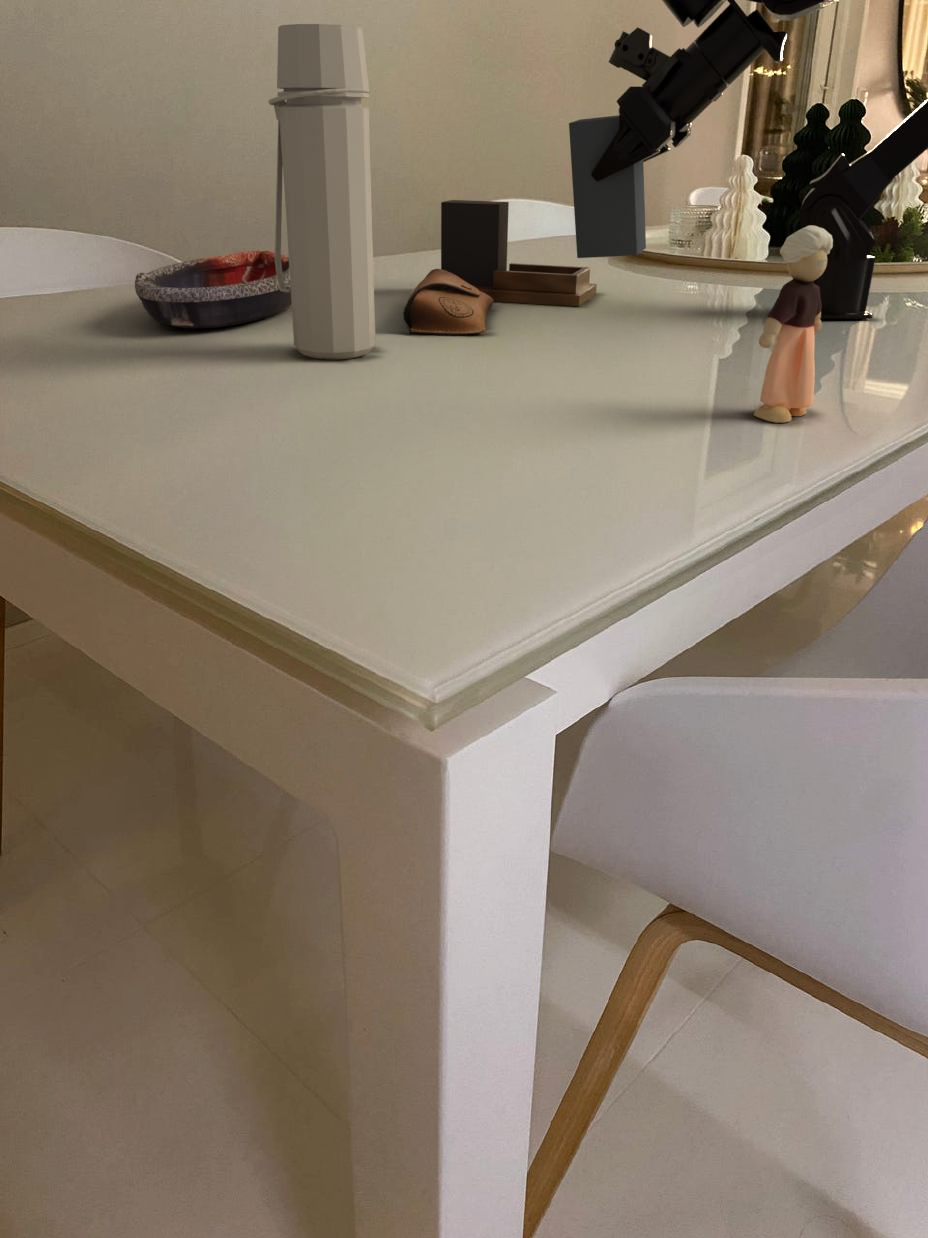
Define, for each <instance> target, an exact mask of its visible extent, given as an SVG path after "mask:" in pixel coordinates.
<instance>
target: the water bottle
mask: <svg viewBox="0 0 928 1238" xmlns="http://www.w3.org/2000/svg"><path fill="white" fill-rule="evenodd" d="M367 67H368V66H367V56H366V49H365V38H364V31H363V28H362V27H359V26H355V25H346V24H345V25H344V24H328V23H294V24H293V23H291V24H282V25H279V26H278V27H277V68H276V69H277V72H276V74H277V75H276V77H277V78H276V89H280V90H283V91H278V92H277V96H275V97H273V98H270V99H268V101H267V102H268V104H269V105H270V106H273V109H274V114H275V119H276V120H277V147H276V149H277V151H276V187H275V188H276V191H275V194H276V195H275V199H276V200H275V227H274V228H275V229H274V230H275V231H274V253H275V266H276V274H277V280H278V284H279V288H280V291H282V292H291V302H292V305H291V315H292V317H291V318H292V333H293V345H294V347H295V348H296V349H297V351H298V352H299V353H301V354H302V355H303V356H305V357H307V358H312V359H317V360H330V361H331V360H333V361H334V360H335V361H336V360H352V359H355V358H361V357H364V356H365V355H368V353H370V352H371V351H372V350H373V349H374V347H375V346H376V324H375V323H376V319H375V318H376V317H375V316H376V315H375V314H376V313H375V284H374V283H375V282H374V280H375V279H374V276H375V275H374V245H373V244H374V243H373V208H372V207H373V206H372V172H371V170H372V169H371V135H370V131H371V130H370V108H369V107H367V106H364V105H363V104H362V99H369V98H370V93H371V92H370V83H369V75H368V68H367ZM283 188H284V189H283ZM283 190H284V203H285V204H284V205H285V220H286V222H285V223H286V235H287V238H286V239H287V250H288V251H287V253H288V257H289V270H290V287H289V289H286V286H285V283H284V279H283V273H282V265H281V254H282V222H283V221H282V219H283V217H282V215H283V213H282V212H283V211H282V210H283Z"/></svg>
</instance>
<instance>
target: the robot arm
mask: <svg viewBox="0 0 928 1238" xmlns="http://www.w3.org/2000/svg"><path fill="white" fill-rule="evenodd" d="M661 1H662V2H663V4H664V5H665V6H666V7H667V9H668V10H669V12H670V13H671V14H672V15H673V16H674V18H675V19H676V20H677V21H678V23H679V24H680V26H681V27H682V28H685V27H687V26H688V25H690V24H691V23H692V22H693V23H694V25H695V27H696V28H697V29H698V28H700V27H702V26H703V25H704V24H706V22H708V21H709V20H710V19H711V18H712V17H713V16H714V15H715V14H716V13H717V12H718V10H719V9H720V8H721V7H722V6H723V5H724V4H725V3H726V2H728V3H729V4H728V5H727V6H726V7H725V8H724V9H723V10H722V11H721V13H720V14H718V16H717V17H716V18H715V19H714V20H713V21H711V23H710V24H708V26H707V27H706V28H705V29H704V30H703V31H702V32H701V33H700V34H699V35H698V36H697V37H696V38H695V39H694V40H693V41H692V42H691V43H690V44H689V45H688V46H687V47H686V48H684V47H683V48H677V49H676V50H675V51H674V52H673V54H671V55H668V54H667V53H664V52H662V51H661V50H659V49H657V48H655V47H654V46H653V35H652V34H651V33H649V32H648V31H646V30H644V29H642V28H641V27H639V26H638V27H636V28H635V29H634V30H632V31H631V32H630V33H628V32H626V31H624V30H622V32H621V34H620V37H619V38H618V39H616V40H615V42H614V49H613V51H612V53H611V55H610V58H609V59H608V63H609V64H611V65H612V66H614V67H615V68H617V69H623V70H624V71H627V72H629V73H631V74H632V75H634V76H636V77H638V78H640V79H642V80H643V81H644V82H643V84H641V86H629V87H628V88H627V89H626V90H625V91H624V92H623V93H622V94H621V96H620V97H619V98H618V99H616V103H617V105H618V106H619V107H618V115H619V130H618V132H617V133H616V135H615V137H614V138H613V140H612V142H611V143H610V145H609V146H608V148H607V149H606V151H605V153H604V154H603V156H602V157H601V159H600V160H599V162H598V163H597V165H596V167H595V168H594V170H593V171H592V173H591V175H592V177H593V178H594V179H595V180H596V181H600V180H602V179H604V178H606V177H609V176H611V175H613V174H615V173H617V172H619V171H621V170H623V169H625V168H628V167H630V166H632V165H634V164H636V163H638V162H640V161H642V160H643V163H645V162H648V161H650V160H652V159H655V158H657V157H659V156H661V155H663V154H666V153H669V152H670V151H671V148H670V146H668V143H669V142H670V141H672V142H671V144H672V146H673V147H674V148H679V147H680V146H681V145H682V144H683V143H684V142H685V141H686V140H687V139H688V138H689V137H690V136H691V133H692V125H693V124H692V123H693V122H694V121H695V120H696V119H697V118H698V117H699V116H700V115H701V114H702V113H703V112H704V111H705V110H706V109H707V108H708V107H710V105H711V104H712V103H715V102H717V101H718V100H719V99H720V98H721V97H722V96H723V94H724V93H723V92H724V91H726V90H727V88H729V86H730V85H731V84H733V83H734V81H735V80H736V79H737V78H739V77H740V76H741V75H742V74H743V73H744V72H745V71H746V70H747V69H748V68H749V67H750V66H751V65H752V64H753V63H754V62H755V61H756V60H757V59H758V58H759V57H761V55H762V54H763V53H764V52H765V51H766V52H767V54H768V55H769V57H770V58H771V59H772V61H773V62H774V63H775V64H780V63H782V61H783V51H784V45H785V42H786V40H787V38H788V33H787V31H785V30H782V31H775V30H774V29H773V27H772V26H771V25H770V24H769V23H768V21H767V20H766V18H765V16H763V15H762V13H761V12H760V11H759V9H755V10H753V11H751V12H750V13H749V14H748V15H747V14H746V13H745V12H744V10H743V9H742V8H741V6H740V5H739V4H738V3H737V1H736V0H661ZM746 1H748V2H752V3H756V4H761V5H763V6H764V7H765V9H766V11H767V13H769V14H770V15H771V16H772V17H773V18H774V19H777V20H780V21H783V22H785V21H794V20H798V19H799V18H802V17H804V16H807V15H809V14H812V13H814V12H817V11H819V10H822V9H824V8H826V7H829V6H831V5H833V4H835V3H838V2H839V1H841V0H746ZM927 150H928V98H927V99H926V100H924V102H922V103H921V104H920V105H919V106H918V107H917V108H916V109H915V110H913V112H912V113H910V114H909V115H908V116H906V118H905V119H904V120H902V122H901V123H899V124H898V125H897V126H896V127H895V128H894V129H892V130H891V131H890V132H889V133H888V134H887V135H886V136H885V137H883V138H882V140H880V141H879V142H878V143H877V144H876V145H874V147H873V148H871V149H870V150H868V151H867V152H866V153H864V154H862V155H861V156H859V157H858V158H856V159H855V160H853V161H851V162H850V163H849V161H848V160H847V158H846V155H845V154H844V153H840V155H839V156H838V157H837V158H836V160H835V161H834V162H833V163H832V164H831V166H830V167H829V168H828V169H827V170H826V171H825V172H824V173H823V174H821V175H820V176H818V177H817V178H813V179H812V180H811V181H810V182H809V185H808V186H809V187H810V190H809V191H808V193H807V194H805V197H804V198H803V200H802V204H801V207H800V213H799V221H800V228H801V229H803V228H804V227H807V226H817V227H820V228H823V229H825V230H826V231H827V232H828V233H829V234H830V235H831V236H832V239H833V247H832V249H831V250H830V253H829V254H827V266H826V269H825V271H824V272H823V274H822V275H821V276H820V277H819V278H817V279H816V280H814V281H813V282H814V284H815V285H818V286H819V287H820V298H821V305H822V308H821V317H820V320H859V319H861V320H862V319H864V320H865V319H867V320H868V319H869V320H870V319H873V317H874V314H873V313H872V312H868V311H867V308H868V307H867V306H868V301H869V296H870V290H871V284H872V279H873V273H874V270H875V269H874V268H875V263H876V256H873V255H870V253H871V251H872V249H873V248H874V246H875V244H876V239H875V237H874V235H873V233H872V231H871V230H870V229H869V227H868V226H867V225H866V224H865V222H864V221H863V220H862V218H863V217H864V216H865V214H866V213H867V212H868V211H869V210H870V209H871V207H872V206H873V205H874V204H875V203H876V201H877V200H878V199H879V197H880V196H881V195H882V193H884V191H885V190H886V189H887V187H888V186H889V185H890V184H891V182H892V181H893V180H894V179H895V178H896V177H897V176H898V175H900V173H901V172H902V171H904V170H906V168H907V167H909V165H911V164H912V163H913V162H914V161H915V160H916V159H918V157H920V156H921V155H922V154H923V153H925V151H927Z"/></svg>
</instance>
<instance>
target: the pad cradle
mask: <svg viewBox="0 0 928 1238" xmlns="http://www.w3.org/2000/svg"><path fill="white" fill-rule="evenodd" d="M509 205H510V204H509V201H493V200H492V201H491V200H470V199H469V200H467V199H466V200H465V199H450V200H444V201H441V202H440V269H442V270H445V271H448V272H450V273H452V274H454V275H456V276H458V277H459V278H461V279H462V280H464V281H466V282H467V283H469V284H470V285H472V286H474V287H475V288H476V289H478V290H479V291H482V292H484V293H486V294H487V295H489V296H490V297H491V298H492V299H493V300H494V302H499V303H514V304H527V305H530V304H531V305H543V306H544V305H546V306H558V307H559V306H562V307H577V308H579V307H581V306H582V305H583V304H584V303H586V302H587V301H589V300H590V299H592V298H593V297H594V296H596V295H597V287H598V284H597V283H590V277H591V276H590V275H591V267H590V266H573V265H570V266H569V265H555V264H554V265H552V264H551V265H550V264H533V263H517V262H516V263H515V262H511V263H509V264H508V240H509V239H508V238H509V237H508V236H509ZM507 267H508V268H507Z"/></svg>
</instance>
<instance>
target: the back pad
mask: <svg viewBox="0 0 928 1238" xmlns="http://www.w3.org/2000/svg"><path fill="white" fill-rule="evenodd" d="M568 130H569V131H568V133H569V147H570V164H571V179H572V194H573V195H572V196H573V213H574V227H575V229H574V230H575V245H576V258H577V259H589V258H608V257H609V258H611V257H633V256H638V255H640V254H641V253H642V252H643V251H644V250H646V249H647V241H646V240H647V239H646V238H647V237H646V207H645V204H646V203H645V202H646V201H645V172H644V162H643V160H642V161H640V162H638V163H636V164H634V165H632V166H630V167H628V168H625V169H623V170H621V171H619V172H617V173H615V174H613V175H611V176H609V177H606V178H604V179H602V180H600V181H596V180H595V179H594V178H593V177H592V175H591V173H592V171H593V170H594V168H595V167H596V165H597V163H598V162H599V160H600V159H601V157H602V156H603V154H604V153H605V151H606V149H607V148H608V146H609V145H610V143H611V142H612V140H613V138H614V137H615V135H616V133H617V132H618V130H619V114H617V115H610V116H599V117H591V118H590V117H589V118H583V119H582V118H581V119H578V120H574V121H571V122H569V123H568Z"/></svg>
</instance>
